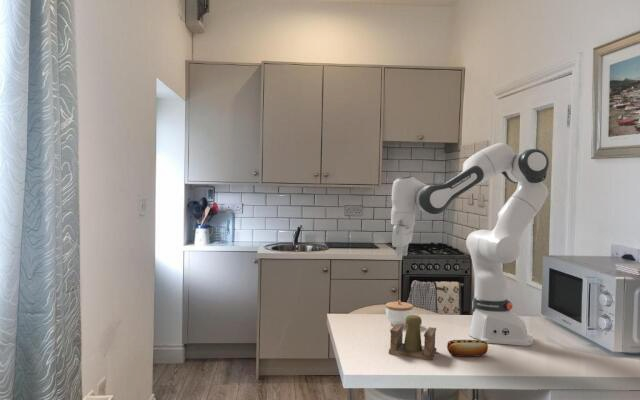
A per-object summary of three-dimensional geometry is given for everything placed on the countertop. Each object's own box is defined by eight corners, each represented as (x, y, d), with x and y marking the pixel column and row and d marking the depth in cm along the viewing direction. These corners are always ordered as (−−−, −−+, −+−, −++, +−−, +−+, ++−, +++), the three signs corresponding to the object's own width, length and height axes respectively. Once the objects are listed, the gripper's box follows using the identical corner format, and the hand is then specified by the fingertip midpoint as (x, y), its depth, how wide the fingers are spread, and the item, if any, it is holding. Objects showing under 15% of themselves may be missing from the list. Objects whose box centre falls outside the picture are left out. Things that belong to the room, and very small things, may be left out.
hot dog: (490, 358, 165) (490, 343, 165) (449, 358, 164) (450, 342, 164) (484, 353, 170) (485, 338, 170) (445, 353, 169) (445, 338, 169)
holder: (436, 351, 171) (437, 328, 170) (431, 360, 162) (432, 335, 162) (395, 345, 176) (395, 323, 176) (388, 353, 167) (389, 330, 167)
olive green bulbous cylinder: (410, 352, 164) (411, 318, 164) (399, 347, 170) (400, 314, 169) (425, 350, 167) (426, 317, 167) (414, 345, 172) (415, 312, 172)
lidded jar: (396, 319, 211) (397, 296, 210) (417, 324, 203) (418, 301, 202) (379, 323, 203) (380, 300, 203) (400, 329, 195) (401, 305, 195)
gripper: (406, 222, 179) (405, 261, 179) (416, 218, 198) (415, 254, 199) (388, 221, 181) (387, 260, 182) (400, 217, 200) (399, 253, 201)
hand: (402, 257), depth 190 cm, fingers open, 8 cm apart
